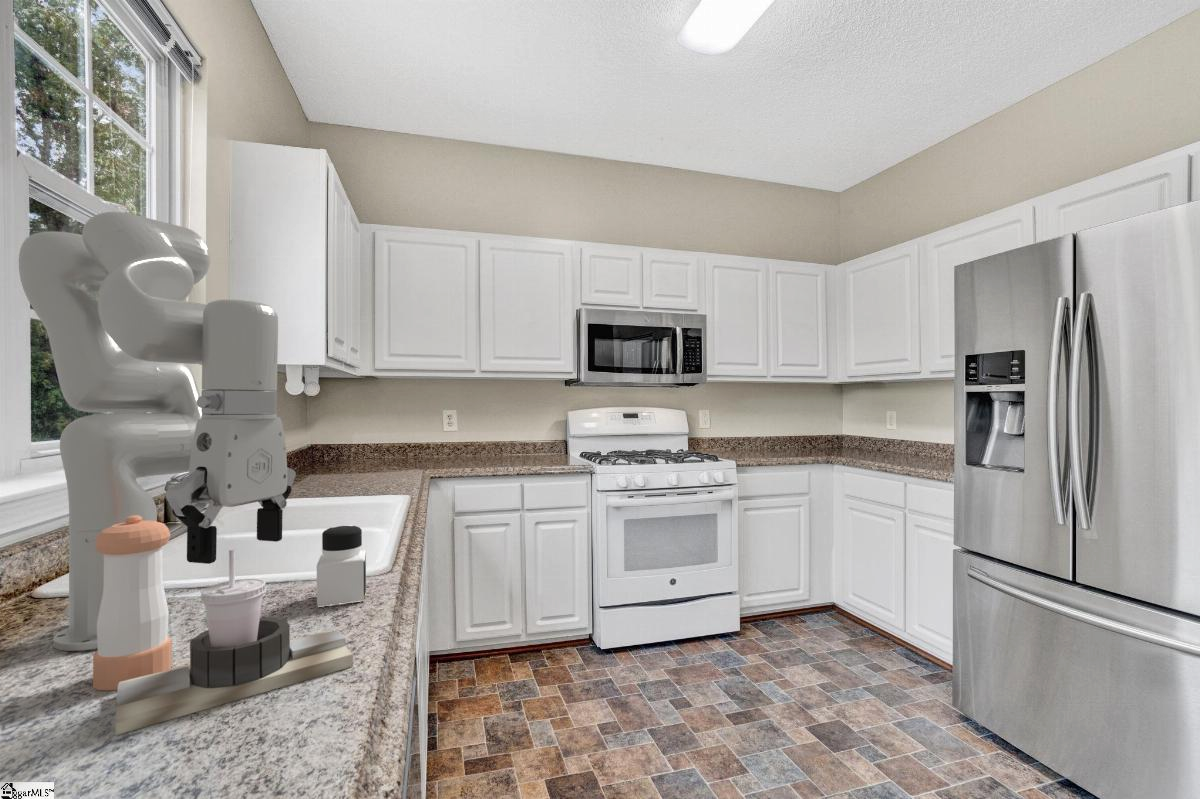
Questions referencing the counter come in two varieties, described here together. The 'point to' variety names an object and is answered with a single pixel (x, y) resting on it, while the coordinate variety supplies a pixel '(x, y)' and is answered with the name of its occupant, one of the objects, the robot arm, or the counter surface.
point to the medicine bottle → (341, 566)
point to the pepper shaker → (132, 604)
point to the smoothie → (233, 609)
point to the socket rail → (226, 694)
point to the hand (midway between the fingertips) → (237, 550)
